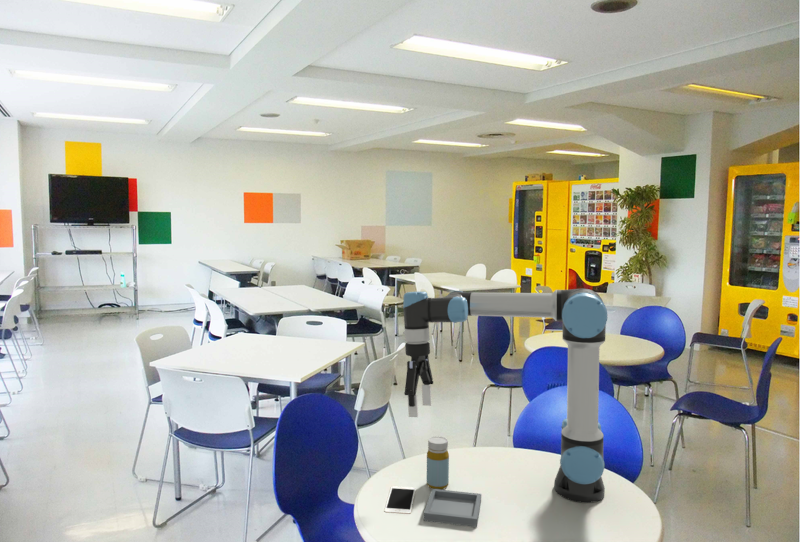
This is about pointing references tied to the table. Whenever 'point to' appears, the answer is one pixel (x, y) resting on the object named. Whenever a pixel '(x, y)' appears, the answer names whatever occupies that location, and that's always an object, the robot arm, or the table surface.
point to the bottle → (437, 463)
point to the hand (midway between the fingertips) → (420, 410)
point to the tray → (453, 507)
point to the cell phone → (400, 500)
